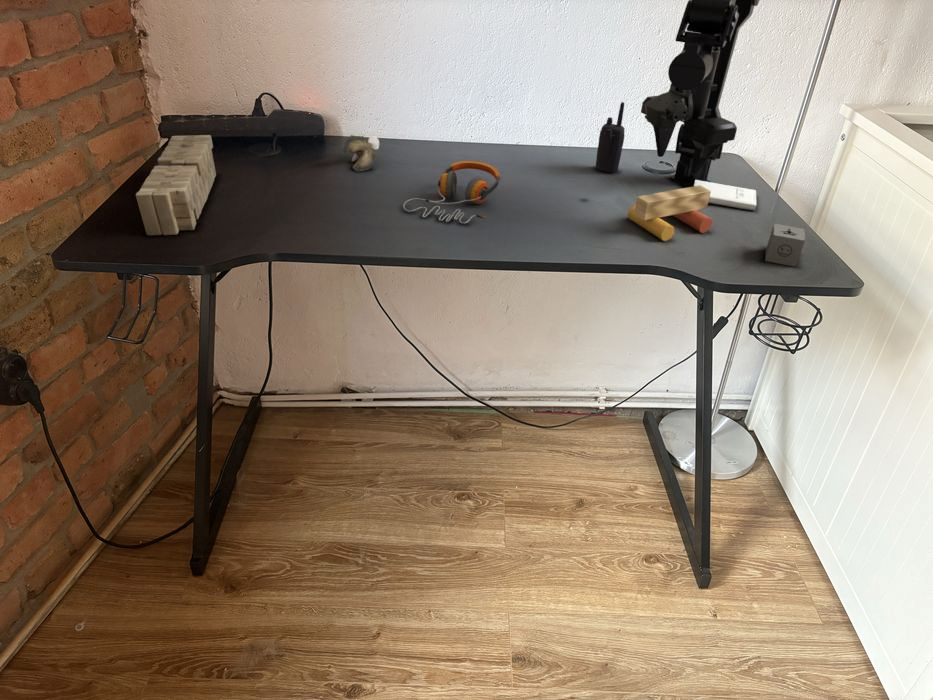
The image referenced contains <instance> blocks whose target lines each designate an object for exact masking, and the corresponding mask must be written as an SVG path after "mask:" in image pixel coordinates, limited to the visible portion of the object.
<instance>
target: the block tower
mask: <svg viewBox="0 0 933 700" xmlns="http://www.w3.org/2000/svg"><path fill="white" fill-rule="evenodd" d="M213 148H214V145H213V139H212V135H211V134H200V135H196V134H195V135H172V136H171V137H170V139H169V141H168V143H167V146H165V148H164V150H163V151H162V152H161V155H160V156H159V157H158V159H157V164H158V165H155V166H154V167H153V169H152V170H150V173H149V175H148V176H147V178H145V180H144V182H143V183H142V185H141V187H140V189H139V191H137V192H136V193H135V198H136V201H137V205H138V208H139V211H140V212H139V213H140V215H141V219H142V223H143V226H144V230H145V233H146V235H147V236H161V235H163V236H174V235H175V236H176V235H178V234H179V232H180V231H194V230H195V229H196V225H197V221H198V220H199V218H200V216H201V214H202V211H203V209H204V206H205V203H206V202H207V200H208V198H209V194H210V192H211V189H212V187H213V184H214V182H215V178H216V177H217V171H216V166H215V161H214V155H213V151H212V150H213Z"/></svg>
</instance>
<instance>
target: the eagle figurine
mask: <svg viewBox="0 0 933 700" xmlns="http://www.w3.org/2000/svg"><path fill="white" fill-rule="evenodd" d="M379 147H380V140H379V138H378V137H376V136H374V135H370V136H369V137H368V139H367V140H366V139H365V137H364V135H354V134H353V135H352V134H350V136H349V137H348V138H347V139H345V141H344V142H343V144H342V148H341V151H342V152H343V155H346V154H347V155H348V154H354V155H353V156H352V159H351V163H353V162H355V161H356V162H355V163H354V164H353V165H352V169H353V170H354V171H356V172H361V171H362V172H364V171H368V170H370V169H371V168H373V166H374V163H375V160H376V158H377V156H376V153H375V151H378V150H379ZM373 150H375V151H373Z"/></svg>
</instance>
